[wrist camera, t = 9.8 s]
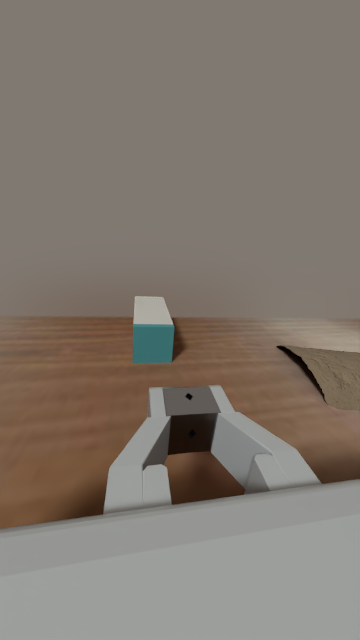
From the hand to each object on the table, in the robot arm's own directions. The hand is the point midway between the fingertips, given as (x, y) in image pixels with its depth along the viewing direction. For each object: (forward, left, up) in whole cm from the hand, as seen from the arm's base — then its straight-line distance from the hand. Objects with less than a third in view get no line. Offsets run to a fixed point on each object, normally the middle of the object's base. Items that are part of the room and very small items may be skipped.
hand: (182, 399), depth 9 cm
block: (0, +15, -5) cm, 16 cm away
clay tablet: (+22, +12, -8) cm, 26 cm away
